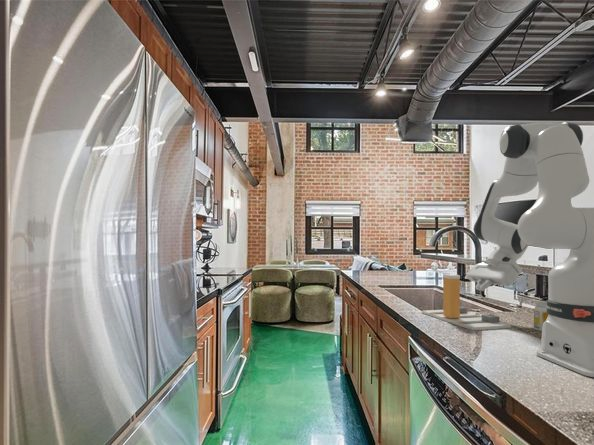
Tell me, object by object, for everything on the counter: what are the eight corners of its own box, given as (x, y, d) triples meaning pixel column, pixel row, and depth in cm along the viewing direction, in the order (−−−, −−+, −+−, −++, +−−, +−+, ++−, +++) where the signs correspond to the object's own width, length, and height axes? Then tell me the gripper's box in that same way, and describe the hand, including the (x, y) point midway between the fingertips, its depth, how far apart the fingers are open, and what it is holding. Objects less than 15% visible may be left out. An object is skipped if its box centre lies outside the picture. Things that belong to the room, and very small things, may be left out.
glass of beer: (460, 317, 131) (460, 275, 132) (450, 318, 130) (450, 275, 131) (452, 315, 135) (452, 274, 136) (443, 315, 134) (442, 274, 135)
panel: (511, 327, 122) (511, 319, 122) (472, 330, 118) (472, 321, 118) (455, 311, 149) (455, 304, 149) (422, 313, 145) (422, 305, 145)
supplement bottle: (531, 329, 120) (531, 301, 121) (537, 327, 124) (536, 299, 124) (550, 333, 116) (550, 303, 117) (555, 330, 120) (555, 301, 120)
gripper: (474, 257, 148) (455, 280, 145) (516, 259, 129) (495, 286, 126) (483, 267, 149) (464, 291, 146) (526, 271, 130) (505, 299, 126)
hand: (479, 289), depth 136 cm, fingers closed
